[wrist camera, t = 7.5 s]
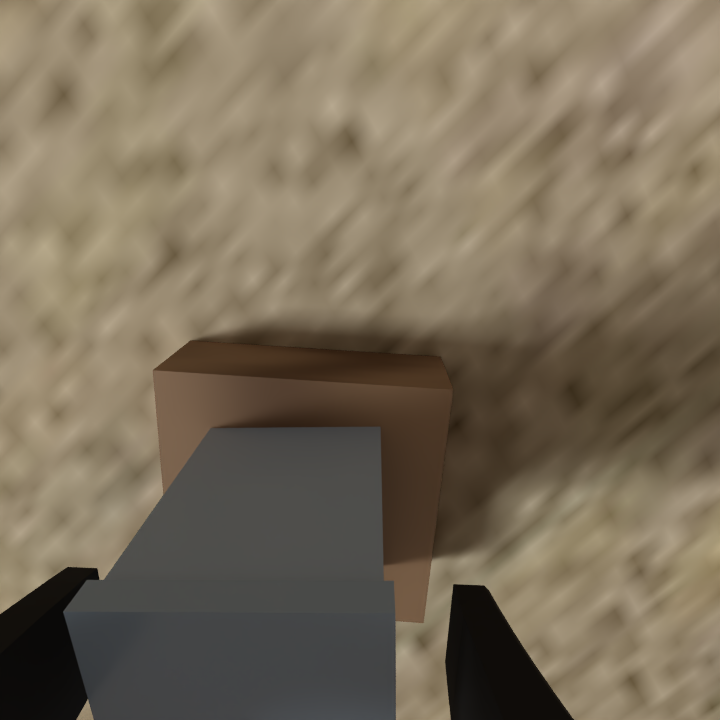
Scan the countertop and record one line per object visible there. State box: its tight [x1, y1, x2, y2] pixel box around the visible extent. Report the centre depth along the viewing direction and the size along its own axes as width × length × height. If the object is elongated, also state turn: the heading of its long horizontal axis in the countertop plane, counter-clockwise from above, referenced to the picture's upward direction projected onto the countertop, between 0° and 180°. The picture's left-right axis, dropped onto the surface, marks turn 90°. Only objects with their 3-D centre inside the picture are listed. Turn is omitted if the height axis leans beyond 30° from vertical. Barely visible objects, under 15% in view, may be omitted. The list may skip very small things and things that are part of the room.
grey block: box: [63, 427, 396, 720], centre depth 10 cm, size 5×5×6 cm
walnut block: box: [153, 341, 453, 623], centre depth 15 cm, size 8×8×3 cm
